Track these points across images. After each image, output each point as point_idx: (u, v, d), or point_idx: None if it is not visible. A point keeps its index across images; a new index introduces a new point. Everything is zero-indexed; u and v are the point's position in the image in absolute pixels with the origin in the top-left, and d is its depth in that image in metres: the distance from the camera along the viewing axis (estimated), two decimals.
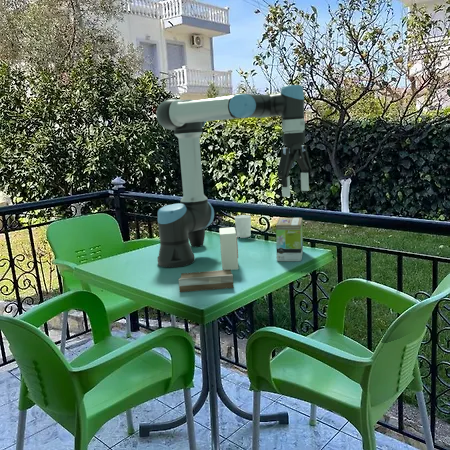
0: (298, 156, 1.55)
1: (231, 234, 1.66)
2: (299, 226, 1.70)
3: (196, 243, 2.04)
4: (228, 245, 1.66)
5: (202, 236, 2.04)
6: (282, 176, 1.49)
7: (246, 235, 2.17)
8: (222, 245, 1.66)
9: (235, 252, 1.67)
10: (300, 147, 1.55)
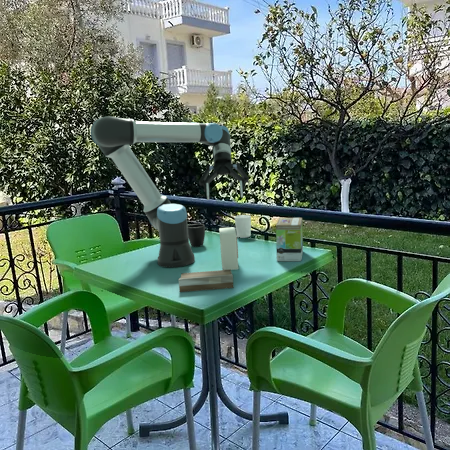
0: None
1: (231, 234, 1.66)
2: (299, 226, 1.70)
3: (196, 243, 2.04)
4: (228, 245, 1.66)
5: (202, 236, 2.04)
6: (246, 181, 1.83)
7: (246, 235, 2.17)
8: (222, 245, 1.66)
9: (235, 252, 1.67)
10: None
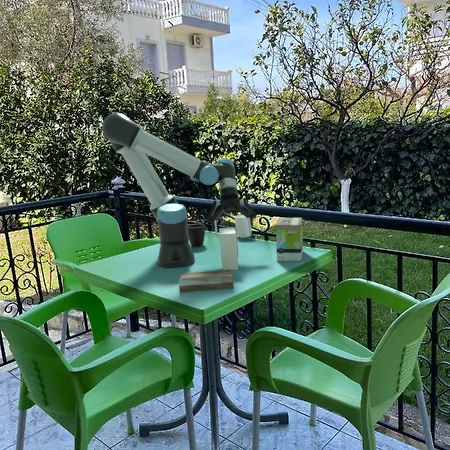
0: None
1: (231, 234, 1.66)
2: (299, 226, 1.70)
3: (196, 243, 2.04)
4: (228, 245, 1.66)
5: (202, 236, 2.04)
6: (254, 217, 1.82)
7: (246, 235, 2.17)
8: (222, 245, 1.66)
9: (235, 252, 1.67)
10: None
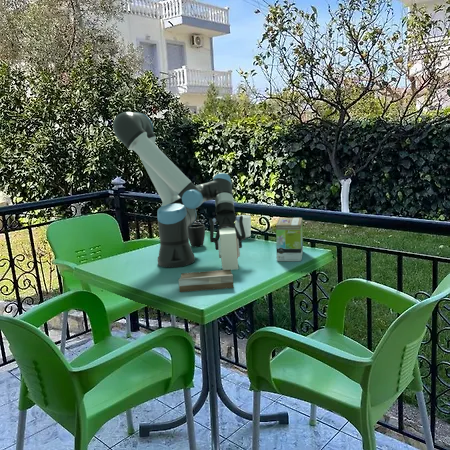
0: None
1: (231, 234, 1.66)
2: (299, 226, 1.70)
3: (196, 243, 2.04)
4: (228, 244, 1.66)
5: (202, 236, 2.04)
6: (243, 239, 1.73)
7: (246, 235, 2.17)
8: (222, 245, 1.66)
9: (235, 252, 1.67)
10: None
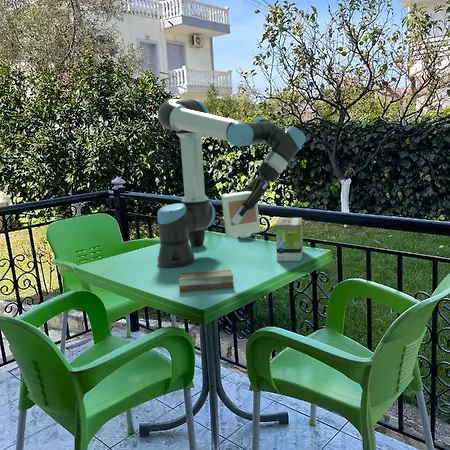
0: None
1: (224, 197, 1.51)
2: (299, 226, 1.70)
3: (196, 243, 2.04)
4: (224, 208, 1.53)
5: (202, 236, 2.04)
6: (249, 207, 1.48)
7: (246, 235, 2.17)
8: (223, 207, 1.55)
9: (226, 218, 1.51)
10: None
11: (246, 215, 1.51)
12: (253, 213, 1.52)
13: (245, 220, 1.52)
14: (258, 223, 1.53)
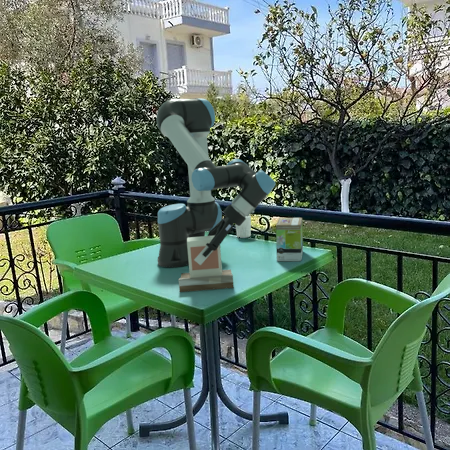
0: None
1: (187, 241, 1.51)
2: (299, 226, 1.70)
3: None
4: None
5: None
6: (212, 249, 1.43)
7: (246, 235, 2.17)
8: None
9: None
10: None
11: (208, 261, 1.50)
12: (215, 259, 1.50)
13: (207, 266, 1.51)
14: (220, 270, 1.52)
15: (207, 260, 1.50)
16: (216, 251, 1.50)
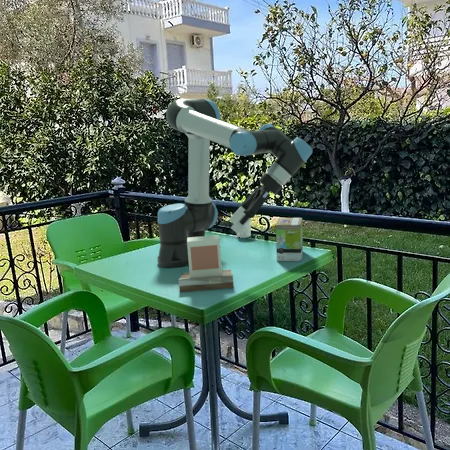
0: None
1: (187, 241, 1.51)
2: (299, 226, 1.70)
3: None
4: None
5: None
6: (249, 216, 1.41)
7: (246, 235, 2.17)
8: None
9: None
10: None
11: (208, 261, 1.50)
12: (215, 259, 1.50)
13: (207, 266, 1.51)
14: (220, 270, 1.52)
15: (207, 260, 1.50)
16: (216, 251, 1.50)
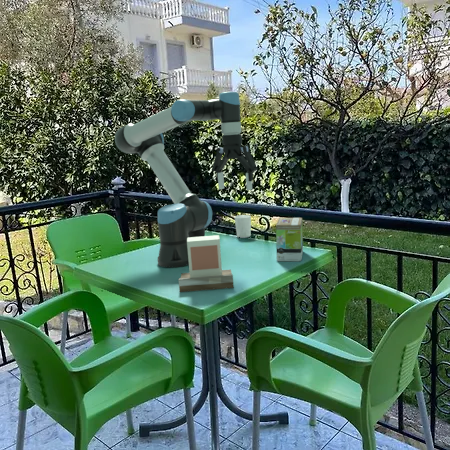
0: None
1: (187, 241, 1.51)
2: (299, 226, 1.70)
3: None
4: None
5: None
6: (254, 170, 1.68)
7: (246, 235, 2.17)
8: None
9: None
10: None
11: (208, 261, 1.50)
12: (215, 259, 1.50)
13: (207, 266, 1.51)
14: (220, 270, 1.52)
15: (207, 260, 1.50)
16: (216, 251, 1.50)
